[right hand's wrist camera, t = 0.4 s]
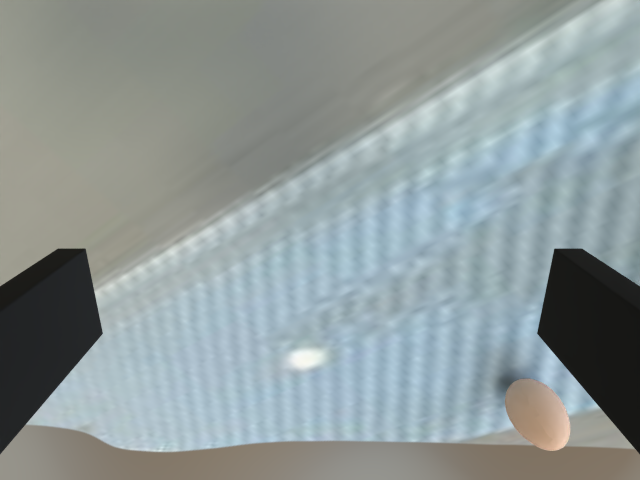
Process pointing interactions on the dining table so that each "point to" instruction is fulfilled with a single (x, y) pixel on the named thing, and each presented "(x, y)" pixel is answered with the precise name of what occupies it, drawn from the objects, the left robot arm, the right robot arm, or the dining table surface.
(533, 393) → the egg
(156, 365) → the dining table surface
